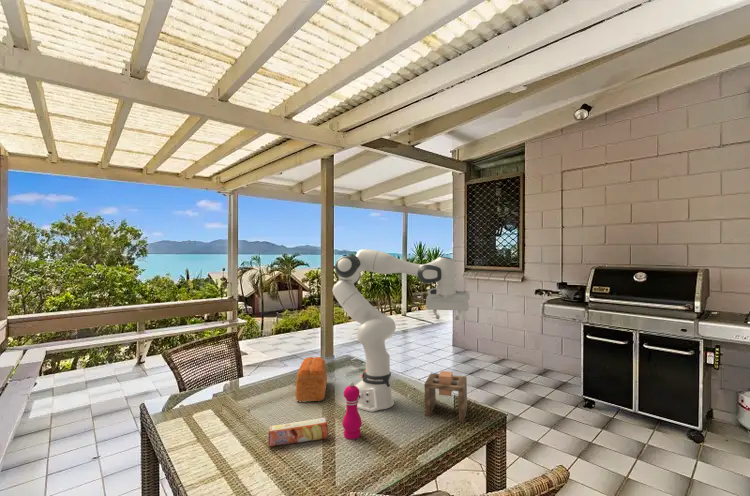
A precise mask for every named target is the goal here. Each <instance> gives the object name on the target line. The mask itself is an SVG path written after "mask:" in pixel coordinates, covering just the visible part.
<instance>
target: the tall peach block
mask: <svg viewBox="0 0 750 496" xmlns="http://www.w3.org/2000/svg"><path fill="white" fill-rule="evenodd" d="M438 374H439V384H447V385H451V381H452V380H453V376H454V374H453V371H448V370H441V371H440V373H438ZM452 392H454V391H452V390H443V389H438V395H439V396H447V397H452Z"/></svg>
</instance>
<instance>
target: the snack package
mask: <svg viewBox="0 0 750 496" xmlns="http://www.w3.org/2000/svg"><path fill="white" fill-rule="evenodd" d="M328 427H329V426H328V421H327V419H326V417H319V418H315V419H307V420H303V421H295V422H289V423H288V422H287V423H283V424H282V423H281V424H277V425H275V424H274V425H270V426H269V428H268V446H269V447H271V446H272V447H275V445H277V446H282V444H283V445H290V444H297V443H304V442H311V441H318V440H326V439H327V437H328V433H329V432H328V430H329V429H328Z"/></svg>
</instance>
